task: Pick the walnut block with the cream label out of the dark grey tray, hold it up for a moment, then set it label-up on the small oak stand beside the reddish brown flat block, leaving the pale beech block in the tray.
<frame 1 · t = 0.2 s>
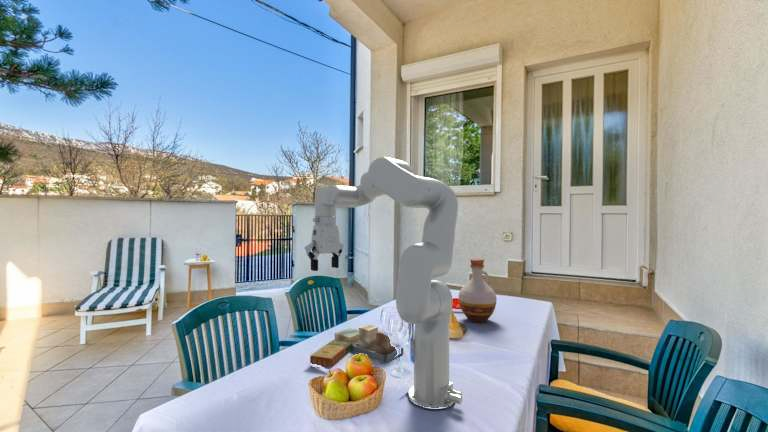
hand: (325, 269, 118), 31 cm above the table, tool pointing down, fingers open, 9 cm apart
reddish brown flat block: (332, 360, 114), on the table
tray: (377, 354, 118), on the table
walnut block: (386, 355, 115), point 1 cm above the table, touching tray
jug: (478, 320, 160), on the table
stand: (349, 345, 127), on the table
beech block: (368, 349, 121), point 1 cm above the table, touching tray
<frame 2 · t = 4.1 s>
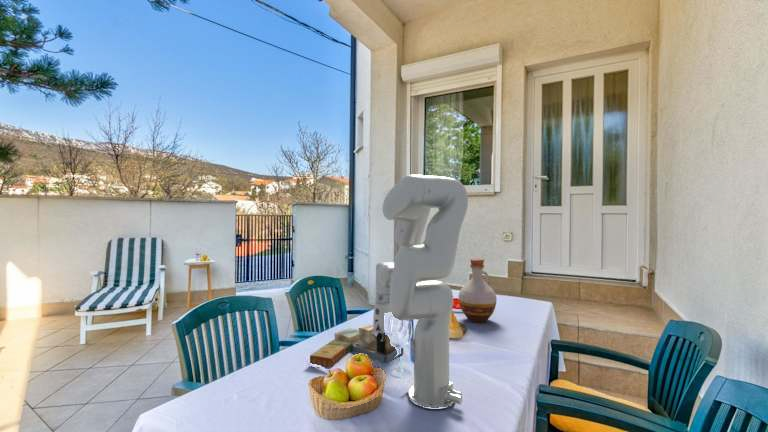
hand: (386, 349, 115), 3 cm above the table, tool pointing down, fingers closed on walnut block, 5 cm apart
walnut block: (386, 355, 115), point 1 cm above the table, touching gripper, tray
everything else where it was.
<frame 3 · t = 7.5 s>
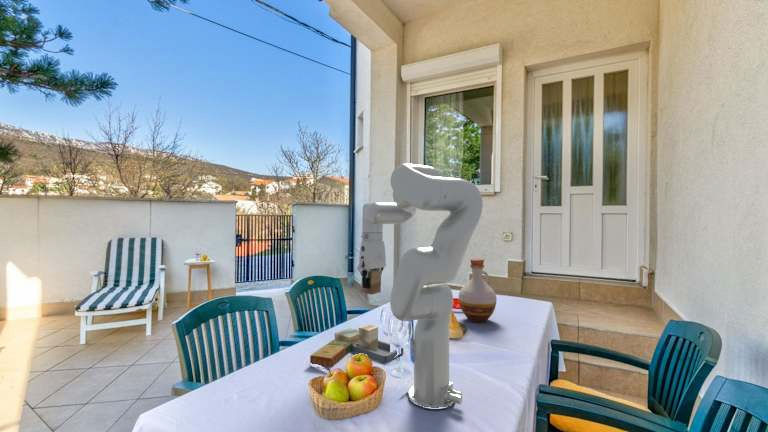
hand: (371, 286, 120), 24 cm above the table, tool pointing down, fingers closed on walnut block, 5 cm apart
walnut block: (370, 292, 121), point 22 cm above the table, touching gripper
everything else where it was.
when the fingers open (9 cm above the table, at t = 11.3 s): walnut block drops 2 cm, resting on stand.
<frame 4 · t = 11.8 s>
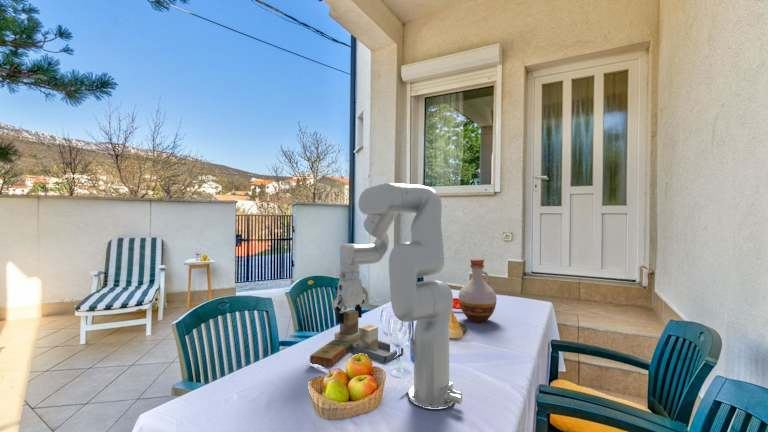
hand: (349, 320, 127), 10 cm above the table, tool pointing down, fingers open, 9 cm apart
walnut block: (349, 332, 127), point 5 cm above the table, touching stand
everything else where it was.
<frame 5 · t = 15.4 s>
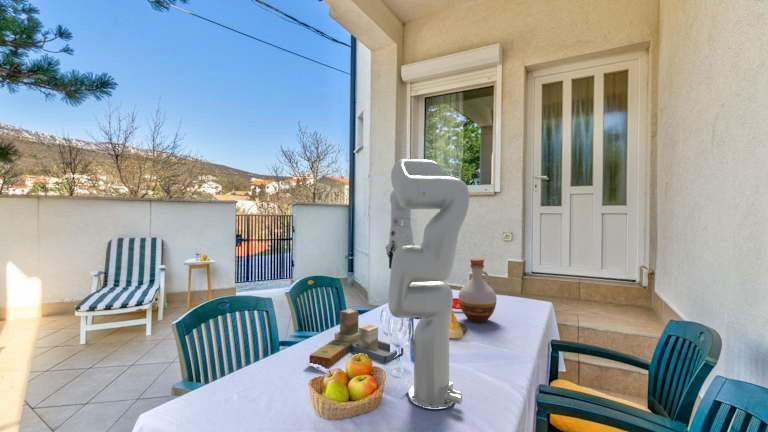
hand: (400, 267, 126), 30 cm above the table, tool pointing down, fingers open, 9 cm apart
nothing on the table moved.
at the end: walnut block inside the target area on the stand (0.4 cm from its centre), point 5.1 cm above the stand's base; walnut block tilted 0°; beech block moved 0.1 cm from its start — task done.
